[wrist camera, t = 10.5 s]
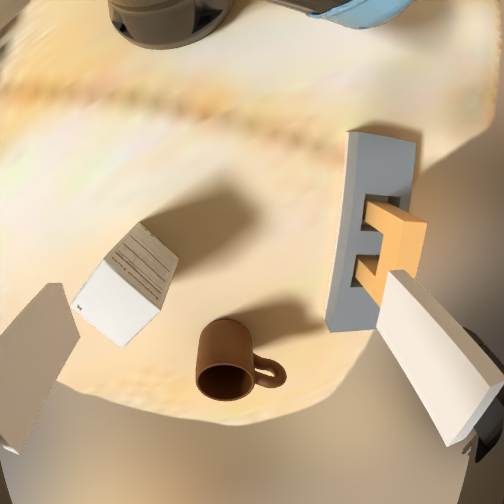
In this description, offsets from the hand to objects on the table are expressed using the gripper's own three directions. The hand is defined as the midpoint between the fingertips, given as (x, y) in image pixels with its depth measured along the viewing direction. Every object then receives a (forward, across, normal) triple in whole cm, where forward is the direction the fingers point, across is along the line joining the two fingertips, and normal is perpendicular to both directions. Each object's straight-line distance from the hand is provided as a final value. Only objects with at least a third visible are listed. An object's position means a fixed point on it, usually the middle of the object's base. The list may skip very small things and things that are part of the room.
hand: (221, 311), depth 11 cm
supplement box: (+26, -12, -9) cm, 30 cm away
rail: (+26, +18, -6) cm, 32 cm away
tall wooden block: (+25, +18, -6) cm, 31 cm away
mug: (+26, +1, -22) cm, 34 cm away
